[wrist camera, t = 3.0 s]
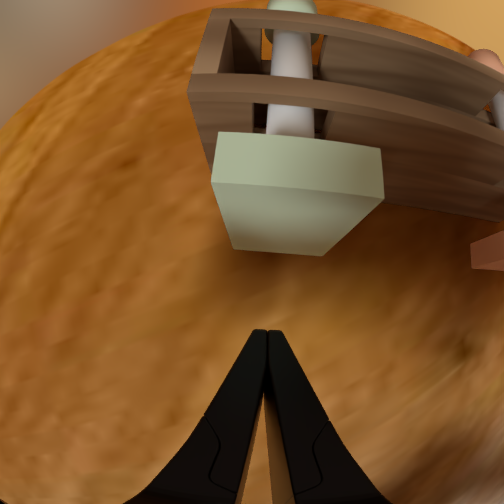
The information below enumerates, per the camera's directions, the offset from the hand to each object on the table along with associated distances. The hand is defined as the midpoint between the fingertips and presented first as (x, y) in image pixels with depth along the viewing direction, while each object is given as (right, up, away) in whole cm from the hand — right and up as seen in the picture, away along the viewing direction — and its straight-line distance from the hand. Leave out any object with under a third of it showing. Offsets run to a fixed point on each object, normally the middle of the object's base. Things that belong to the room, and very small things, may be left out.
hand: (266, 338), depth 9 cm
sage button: (+1, +9, +8) cm, 12 cm away
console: (+9, +9, +10) cm, 16 cm away
